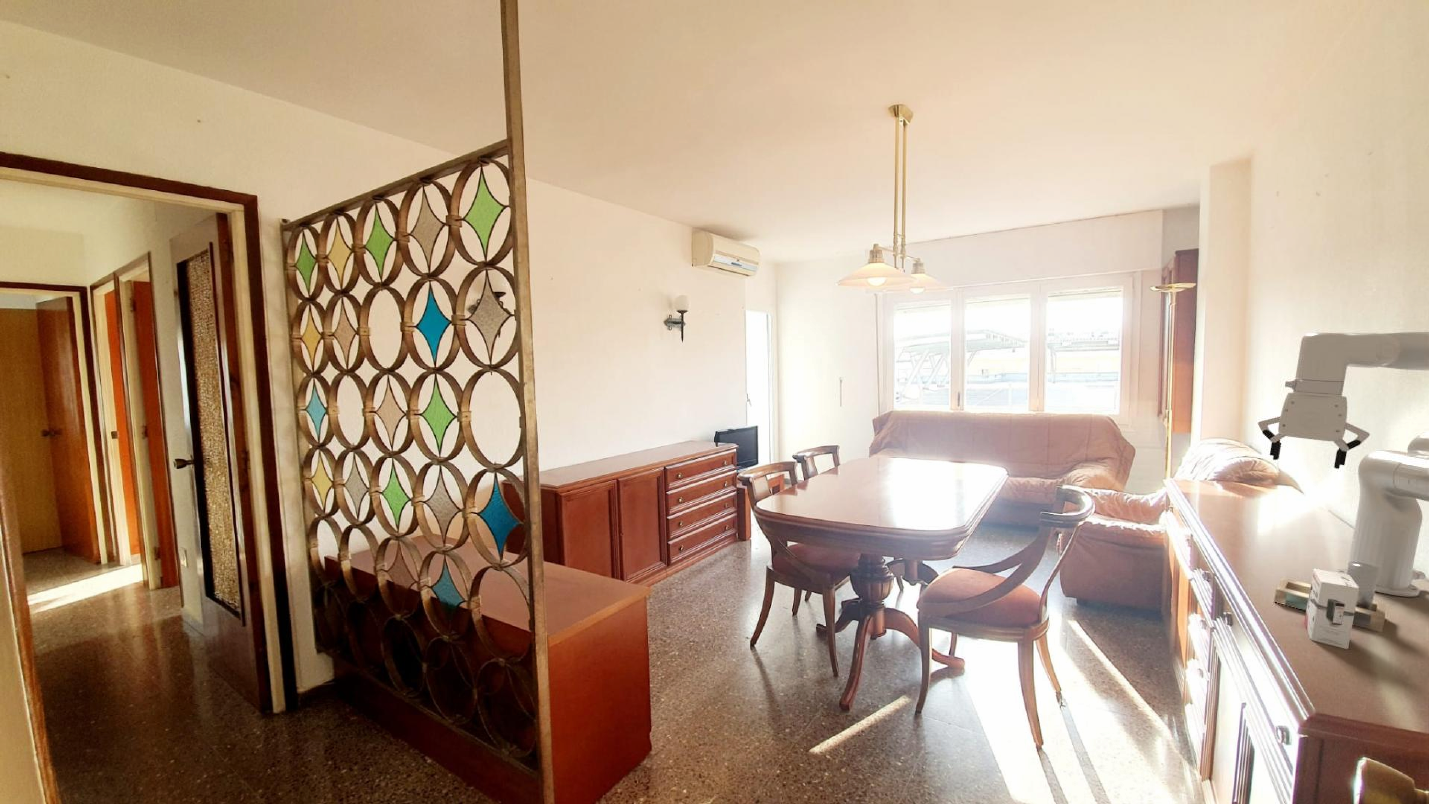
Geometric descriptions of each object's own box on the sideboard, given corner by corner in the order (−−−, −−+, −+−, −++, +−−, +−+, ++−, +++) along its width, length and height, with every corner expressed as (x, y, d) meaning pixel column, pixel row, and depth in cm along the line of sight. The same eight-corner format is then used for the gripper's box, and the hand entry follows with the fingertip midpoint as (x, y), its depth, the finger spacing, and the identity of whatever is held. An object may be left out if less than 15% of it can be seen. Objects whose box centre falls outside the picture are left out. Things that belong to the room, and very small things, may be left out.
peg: (1351, 612, 117) (1360, 561, 116) (1375, 621, 113) (1385, 569, 112) (1333, 612, 117) (1343, 561, 115) (1357, 622, 113) (1367, 569, 111)
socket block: (1273, 602, 120) (1275, 589, 120) (1280, 590, 126) (1282, 577, 126) (1381, 633, 109) (1384, 618, 108) (1383, 617, 115) (1385, 603, 115)
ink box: (1302, 623, 112) (1312, 566, 110) (1338, 631, 109) (1349, 573, 107) (1310, 640, 105) (1320, 580, 103) (1349, 650, 102) (1360, 588, 100)
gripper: (1261, 385, 130) (1250, 458, 132) (1376, 393, 116) (1362, 473, 118) (1266, 384, 134) (1255, 454, 136) (1377, 391, 121) (1363, 469, 123)
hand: (1305, 463), depth 127 cm, fingers open, 9 cm apart
